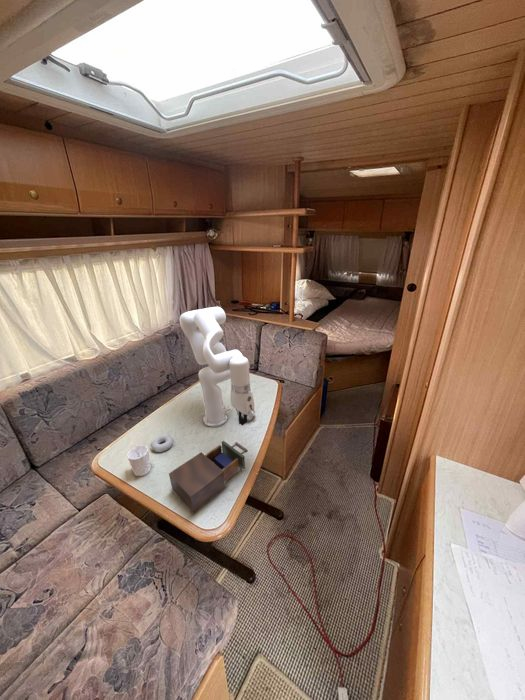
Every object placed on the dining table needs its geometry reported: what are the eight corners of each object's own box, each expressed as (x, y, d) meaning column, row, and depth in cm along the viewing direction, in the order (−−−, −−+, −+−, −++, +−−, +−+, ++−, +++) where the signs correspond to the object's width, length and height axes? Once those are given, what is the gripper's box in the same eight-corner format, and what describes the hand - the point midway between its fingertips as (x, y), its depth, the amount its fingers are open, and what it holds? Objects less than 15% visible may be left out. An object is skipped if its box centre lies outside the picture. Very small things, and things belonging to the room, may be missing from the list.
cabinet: (203, 467, 117) (201, 452, 113) (225, 487, 107) (223, 471, 104) (172, 489, 107) (168, 473, 104) (193, 514, 98) (190, 497, 94)
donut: (164, 455, 124) (177, 440, 132) (163, 450, 122) (176, 435, 131) (147, 451, 127) (160, 436, 136) (145, 445, 126) (159, 431, 134)
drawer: (232, 446, 127) (231, 434, 124) (253, 461, 118) (252, 449, 115) (199, 470, 114) (197, 457, 112) (219, 489, 106) (218, 476, 103)
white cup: (140, 480, 112) (135, 462, 108) (128, 472, 116) (123, 454, 112) (156, 467, 118) (151, 449, 114) (144, 460, 122) (140, 442, 118)
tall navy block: (214, 463, 116) (213, 458, 115) (222, 457, 119) (222, 452, 118) (226, 473, 111) (226, 468, 110) (234, 467, 114) (234, 462, 113)
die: (237, 415, 150) (233, 410, 142) (248, 403, 153) (245, 397, 144) (247, 426, 147) (244, 421, 138) (259, 413, 149) (256, 408, 141)
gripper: (260, 389, 107) (262, 426, 114) (235, 376, 117) (238, 412, 124) (246, 397, 102) (249, 435, 110) (221, 383, 112) (225, 420, 119)
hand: (243, 423), depth 117 cm, fingers closed
